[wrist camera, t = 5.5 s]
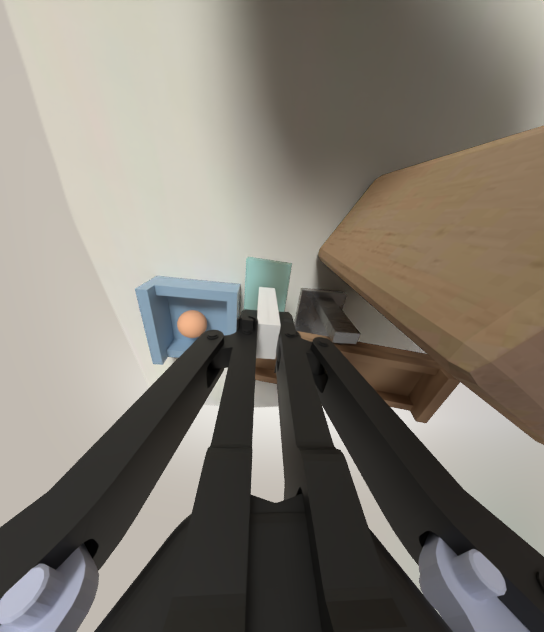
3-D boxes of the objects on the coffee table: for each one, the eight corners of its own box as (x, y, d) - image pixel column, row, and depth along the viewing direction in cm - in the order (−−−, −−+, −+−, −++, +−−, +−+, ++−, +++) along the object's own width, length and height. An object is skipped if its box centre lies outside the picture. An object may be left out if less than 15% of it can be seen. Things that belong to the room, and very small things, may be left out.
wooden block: (366, 297, 26) (570, 470, 9) (312, 253, 23) (461, 385, 6) (431, 233, 23) (1013, 312, 5) (377, 171, 19) (1402, -187, 2)
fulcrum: (288, 352, 30) (296, 403, 22) (301, 287, 25) (318, 323, 17) (324, 355, 31) (345, 405, 23) (344, 292, 26) (381, 329, 18)
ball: (212, 311, 24) (193, 302, 26) (189, 322, 22) (168, 312, 23) (213, 334, 26) (195, 325, 28) (191, 347, 23) (172, 336, 25)
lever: (243, 364, 24) (234, 386, 21) (249, 256, 18) (237, 264, 15) (408, 396, 22) (424, 425, 19) (479, 290, 16) (520, 308, 13)
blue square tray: (156, 275, 24) (134, 288, 20) (240, 284, 25) (235, 298, 21) (168, 343, 29) (153, 364, 25) (237, 347, 30) (233, 368, 26)
